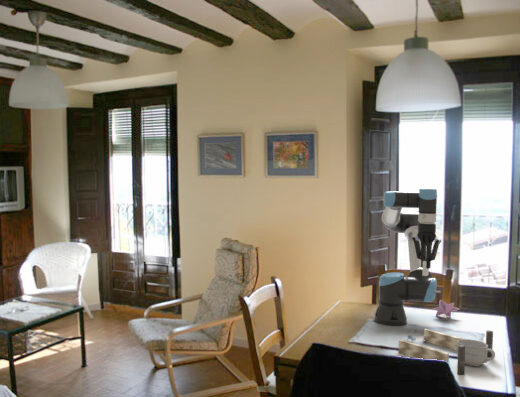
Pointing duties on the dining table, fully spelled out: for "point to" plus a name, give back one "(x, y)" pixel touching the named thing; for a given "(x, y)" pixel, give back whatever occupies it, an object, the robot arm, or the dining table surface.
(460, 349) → the wooden bars
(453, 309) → the lily
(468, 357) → the teacup
